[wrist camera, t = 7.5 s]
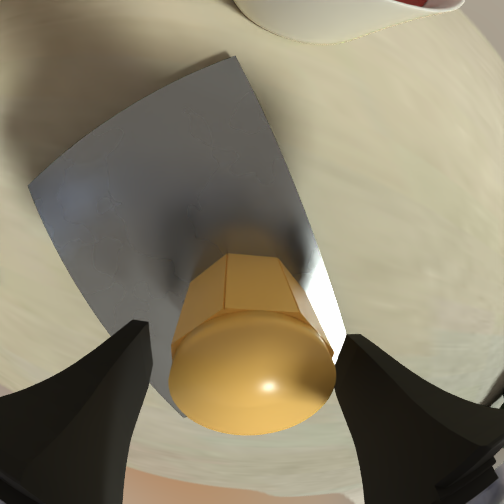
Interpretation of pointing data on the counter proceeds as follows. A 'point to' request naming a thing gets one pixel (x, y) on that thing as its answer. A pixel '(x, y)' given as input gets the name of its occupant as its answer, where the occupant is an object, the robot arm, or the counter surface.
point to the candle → (337, 16)
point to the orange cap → (249, 349)
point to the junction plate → (178, 206)
